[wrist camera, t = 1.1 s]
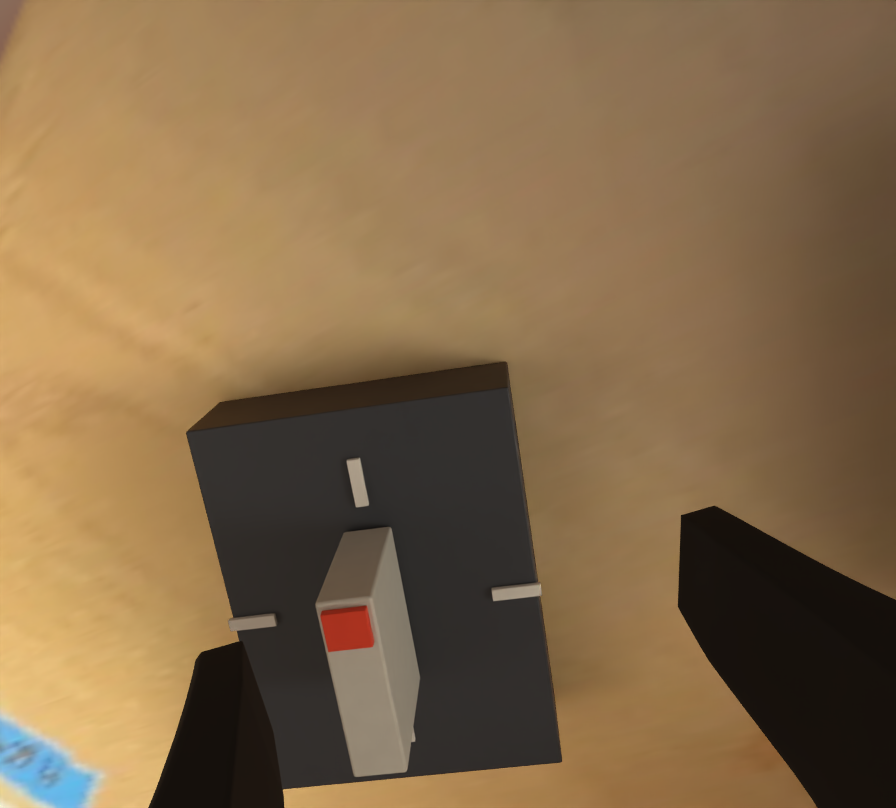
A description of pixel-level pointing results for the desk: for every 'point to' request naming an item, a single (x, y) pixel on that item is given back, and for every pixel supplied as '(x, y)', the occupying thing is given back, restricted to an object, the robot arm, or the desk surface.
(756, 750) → the desk surface
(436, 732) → the control panel
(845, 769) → the robot arm
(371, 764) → the grey block
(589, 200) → the desk surface
